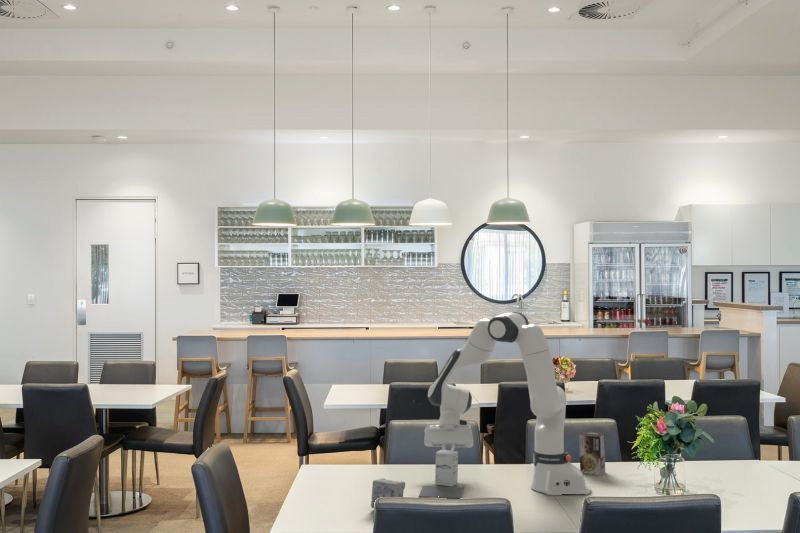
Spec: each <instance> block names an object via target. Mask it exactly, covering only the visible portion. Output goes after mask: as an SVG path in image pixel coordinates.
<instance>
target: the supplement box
mask: <svg viewBox="0 0 800 533" xmlns="http://www.w3.org/2000/svg"><path fill="white" fill-rule="evenodd" d="M448 450H449V449H446V450H443V449H440V450H438V451H436V452H435V463H434V464H435V472H434V473H435V475H434V480H435V481H434V483H435V484H434V485H435V486H442V487H455V485H457V484H458V479H459V478H458V474H459V473H458V472H459V451H457V450H454V451H448Z"/></svg>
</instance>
